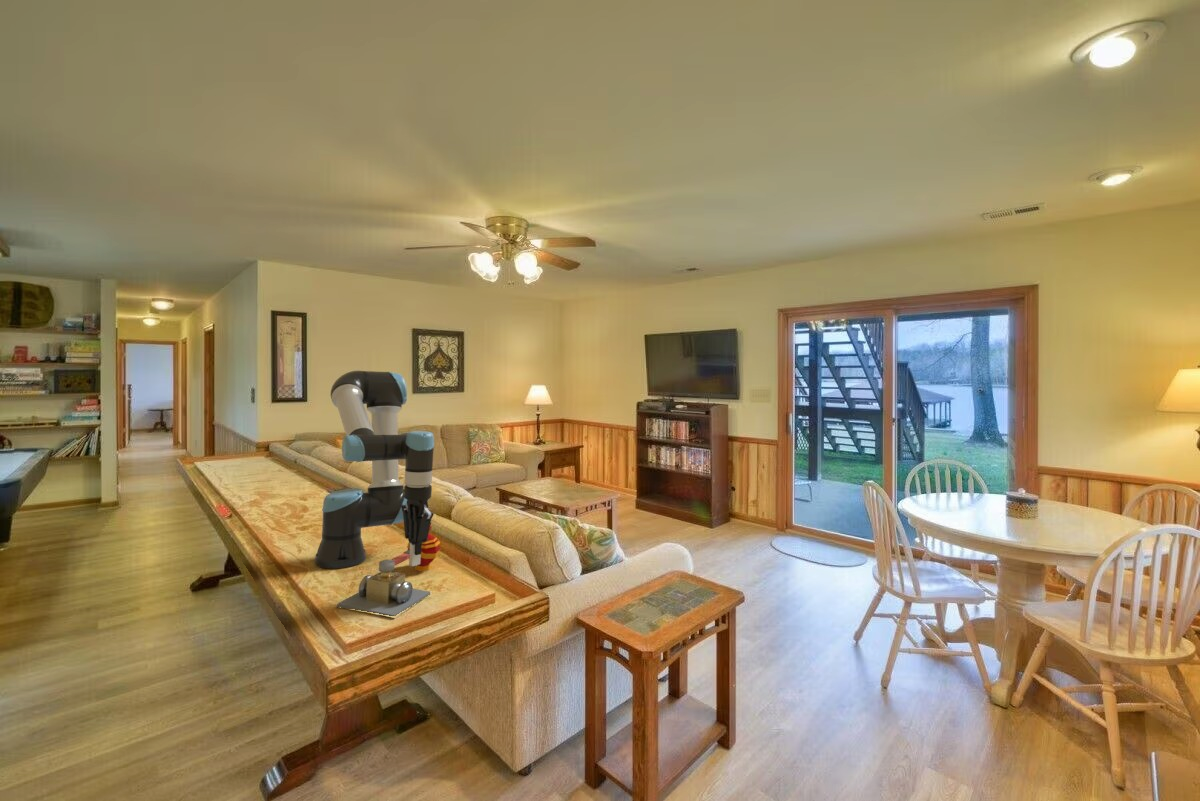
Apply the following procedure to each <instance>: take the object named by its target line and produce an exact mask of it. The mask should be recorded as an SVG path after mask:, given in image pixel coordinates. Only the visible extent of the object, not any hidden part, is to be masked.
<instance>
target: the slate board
mask: <svg viewBox="0 0 1200 801" xmlns="http://www.w3.org/2000/svg"><path fill="white" fill-rule="evenodd" d="M428 595H430V596H431V591H429V590H424V589H419V588H418V589H417V588H413V591H412V595H411V598H410V599H409V600H408V601H407V602H404V603H402V604H398V603H397V602H396V600H395V601H393V602H391V603H390V604H388V605H387V604H382V603H377V602H372V601H366V596H365V597H361V596H360V595H359V591H358V592H356V593H354V594H353V595H350V596H349V597H347V598H345V599H343V600H341V601H339V602H337V604H336V608H337V607H341V608H340V609H342V608H347V609H355V610H361V611H367V612H373V613H379V614H383V615H389V616H396V615H397V614H399V613H400V612H402V611H404V610H406V609H407V608H409V607H411V606H412V605H414V604H415V603H417V602H418V601H420V600H422V599H424V598H425V597H427V596H428ZM428 597H429V596H428ZM428 597H427V598H428ZM425 599H426V598H425ZM425 599H424V600H425ZM422 601H423V600H422ZM347 609H346V610H347Z"/></svg>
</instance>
